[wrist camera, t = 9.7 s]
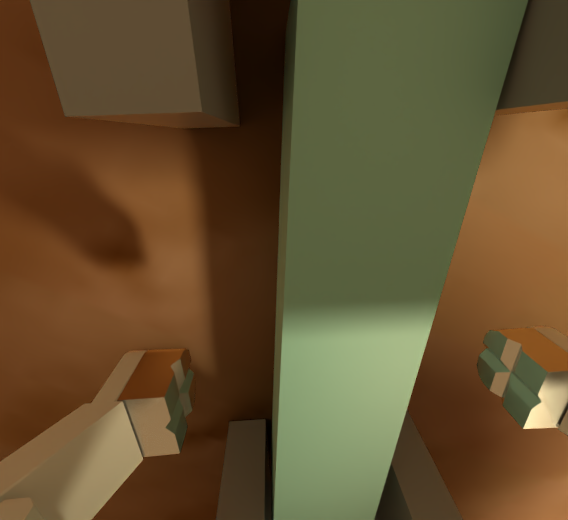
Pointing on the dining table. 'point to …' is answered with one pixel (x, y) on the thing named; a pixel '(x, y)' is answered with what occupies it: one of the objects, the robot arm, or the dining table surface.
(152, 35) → the cap
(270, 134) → the dining table surface
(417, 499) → the cap
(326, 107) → the slat
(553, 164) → the dining table surface
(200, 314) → the dining table surface
